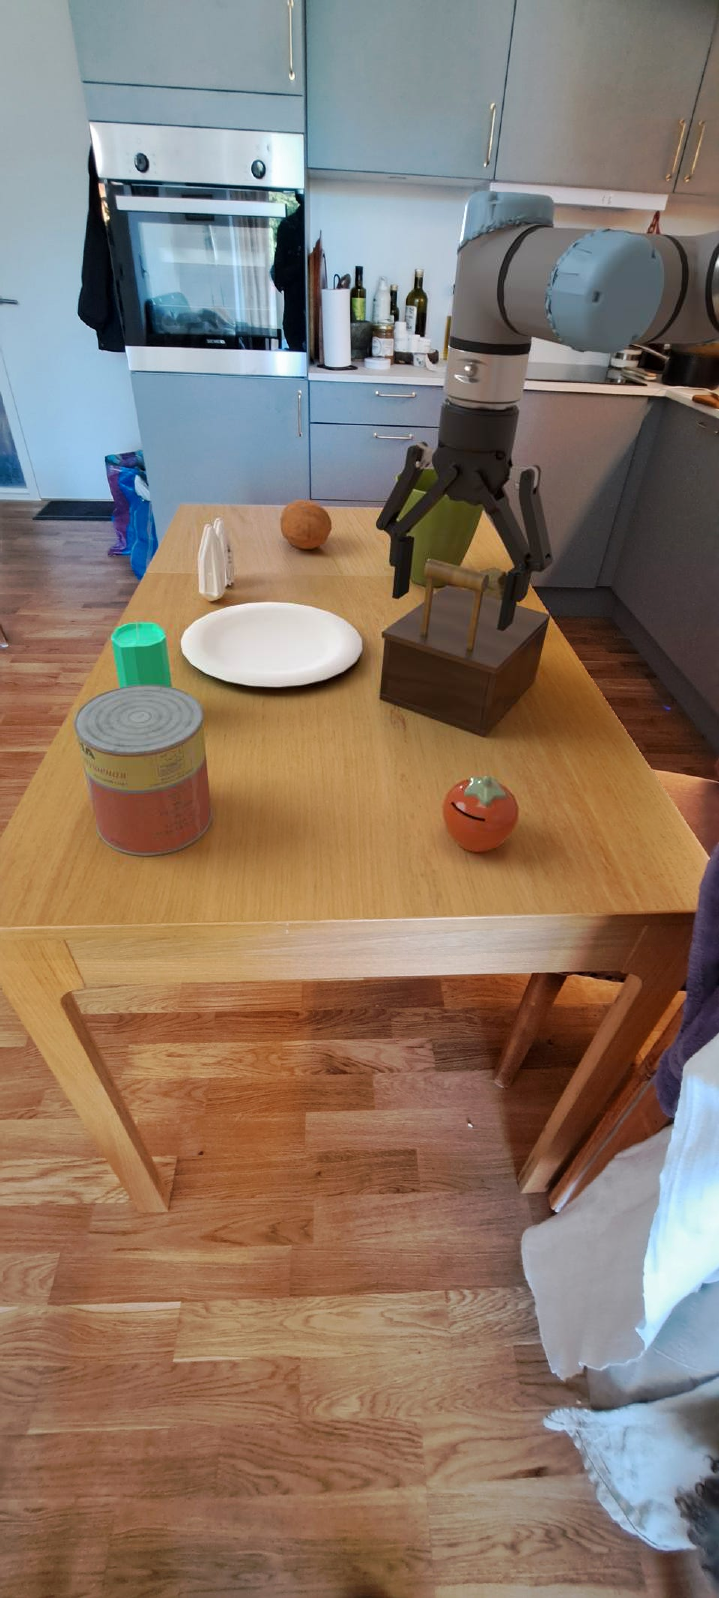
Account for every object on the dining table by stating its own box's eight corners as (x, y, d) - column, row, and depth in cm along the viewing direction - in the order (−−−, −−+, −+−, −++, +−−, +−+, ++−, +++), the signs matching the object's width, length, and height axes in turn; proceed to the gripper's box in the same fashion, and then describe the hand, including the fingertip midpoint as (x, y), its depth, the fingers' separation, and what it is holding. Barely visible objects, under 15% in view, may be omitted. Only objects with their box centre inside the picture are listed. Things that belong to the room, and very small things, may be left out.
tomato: (423, 840, 73) (432, 776, 68) (464, 806, 78) (476, 744, 73) (485, 876, 70) (500, 812, 65) (525, 838, 74) (541, 775, 69)
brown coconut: (329, 536, 139) (330, 494, 134) (333, 558, 130) (334, 515, 126) (280, 534, 138) (280, 493, 133) (280, 557, 129) (280, 513, 125)
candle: (145, 696, 91) (131, 605, 84) (185, 709, 89) (175, 617, 82) (113, 718, 87) (95, 625, 79) (154, 733, 85) (140, 638, 78)
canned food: (108, 782, 78) (88, 683, 70) (216, 783, 79) (208, 685, 71) (85, 856, 69) (59, 752, 61) (207, 855, 70) (196, 753, 62)
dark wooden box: (485, 737, 88) (497, 672, 83) (379, 699, 94) (384, 635, 88) (534, 681, 100) (549, 620, 94) (437, 649, 105) (445, 590, 100)
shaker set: (222, 608, 112) (218, 535, 105) (195, 606, 112) (189, 533, 105) (237, 577, 121) (234, 509, 114) (212, 575, 121) (207, 507, 114)
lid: (495, 674, 82) (511, 591, 76) (381, 637, 88) (387, 556, 82) (549, 620, 94) (567, 544, 88) (446, 590, 100) (455, 517, 94)
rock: (426, 607, 111) (475, 623, 104) (453, 554, 110) (503, 567, 103) (465, 634, 119) (512, 651, 112) (489, 586, 118) (538, 600, 111)
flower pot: (408, 555, 133) (417, 461, 123) (486, 573, 129) (502, 477, 119) (373, 583, 123) (379, 483, 113) (456, 603, 118) (471, 501, 108)
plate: (391, 680, 98) (392, 668, 97) (205, 710, 90) (204, 698, 88) (325, 603, 115) (325, 592, 114) (165, 622, 107) (163, 611, 106)
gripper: (351, 385, 72) (342, 592, 86) (594, 429, 63) (541, 653, 76) (389, 376, 77) (374, 572, 91) (619, 416, 68) (565, 628, 82)
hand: (451, 610), depth 84 cm, fingers open, 12 cm apart
